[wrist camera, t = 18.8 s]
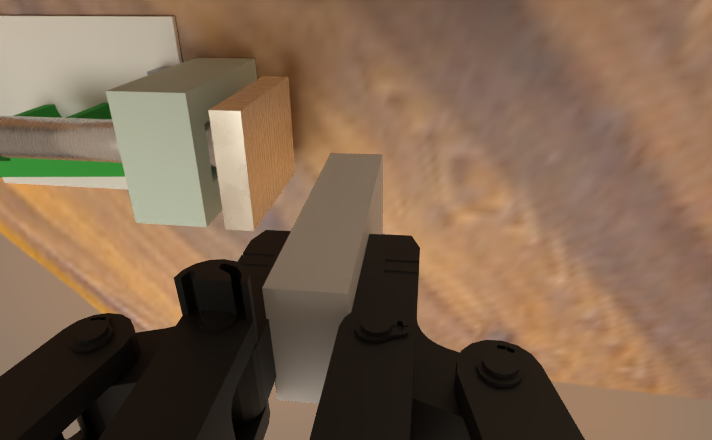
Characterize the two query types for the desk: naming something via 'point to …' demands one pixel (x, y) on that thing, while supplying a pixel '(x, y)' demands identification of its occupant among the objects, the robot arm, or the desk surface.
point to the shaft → (224, 138)
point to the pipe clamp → (61, 167)
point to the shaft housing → (174, 138)
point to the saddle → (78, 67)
